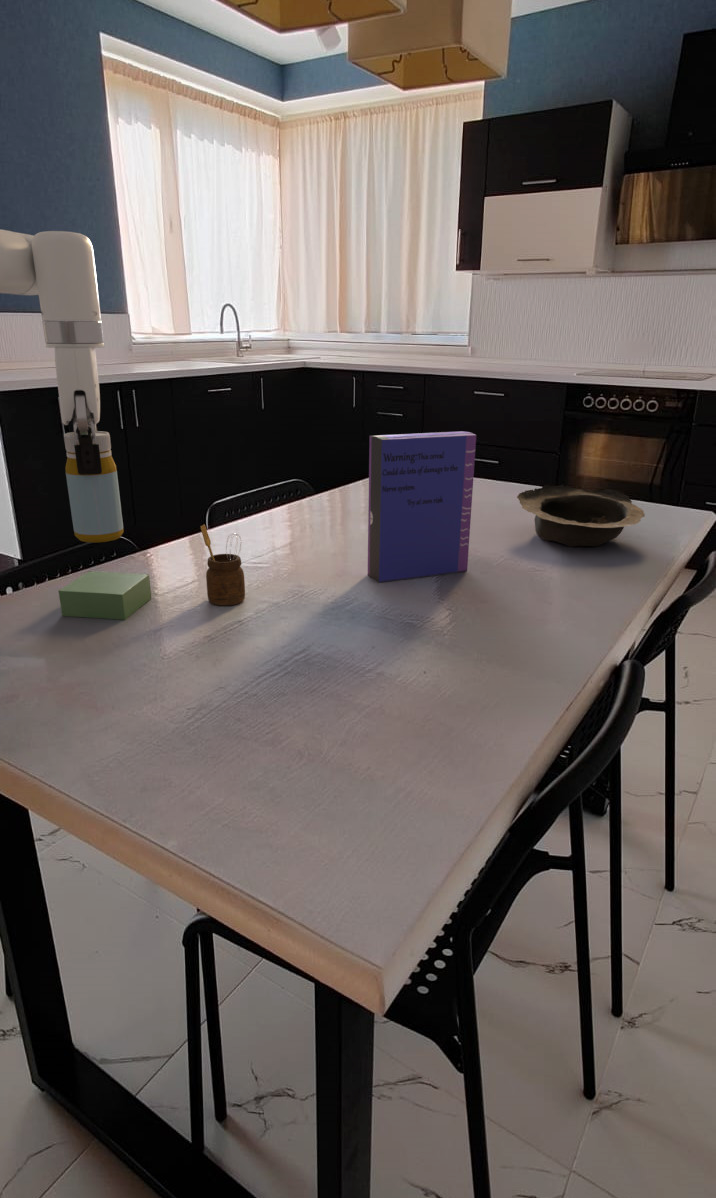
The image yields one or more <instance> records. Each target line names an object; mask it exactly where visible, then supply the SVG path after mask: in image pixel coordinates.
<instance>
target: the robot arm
mask: <svg viewBox="0 0 716 1198" xmlns="http://www.w3.org/2000/svg"><path fill="white" fill-rule="evenodd" d="M0 294H4V295H5V294H6V295H14V296H15V295H16V296H38V300H39V306H40V314H41V320H42V329H43V336H44V343H45V348H49V349H50V348H51V349H54V363H55V372H56V373H55V375H56V382H57V390H58V398H59V406H60V415H61V423H62V424H63V425H64V426H68V425H69V423H70V422H71V421H72V426H73V432H74V435H75V444H76V445H74V448H75V455H76V463H77V470H78V474H80V475H88V474H101V473H102V467H101V459H100V451H99V444H97V442H96V433H95V431H98V427H97V424H98V423H99V422H100V419H101V393H100V391H101V390H100V381H99V369H98V361H97V353H96V352H97V351H96V349H100V348H105V343H104V333H103V325H102V317H101V316H102V315H101V306H100V297H99V289H98V280H97V271H96V262H95V253H94V247H93V244H92V241H91V240H90V238H89V237H88V236H87V235H84V234H82V233H79V232H74V231H65V230H47V231H46V230H45V231H40V232H37V233H36V234H34V235H33V234H28V233H22V232H16V231H12V230H7V229H2V228H1V229H0ZM91 435H92V436H91Z"/></svg>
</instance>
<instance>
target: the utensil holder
mask: <svg viewBox="0 0 716 1198" xmlns="http://www.w3.org/2000/svg"><path fill="white" fill-rule="evenodd" d="M199 528H200V531H201V533H202V534H201V535H202V538H203V542H204V545H205V546H206V547H207V548H208V552H209V555H210V556H209V557H208V558H207V562H206V563H207V564H206V565H207V567H208V568H207V570H206V575H205V578H206V579H205V582H206V594H207V599H208V602H209V603H210V604H212V605H214V606H221V607H227V606H235V605H239V604H241V603H243V602H244V600H245V598H246V584H245V582H246V581H245V573H244V569H243V568H242V559H241V556H240V554H241V549H242V543H238V542H239V540H238V538H236V542H235V543H236V545H238V544H240V545H239V550H238V549H237V547H234V548H235V552H234V553H232V550H229V553H228V552H227V550H228V549H227V548H228V542H230V544H229V545H230V546H232V544H233V542H232V541H233V540H234V537H235V536H239V534H238V533H234V532H233V533H230V534H229V535H228V536H227V540H226V544H225V552H226V553H217V554H213V550H212V547H211V544H212V542H211V539H210V535H209V533H208V530H207V527H206V524H202V525H200V527H199ZM229 538H230V539H231V541H229ZM239 539H240V540H242V539H241V536H239ZM237 551H238V553H237ZM236 553H237V554H236Z"/></svg>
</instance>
